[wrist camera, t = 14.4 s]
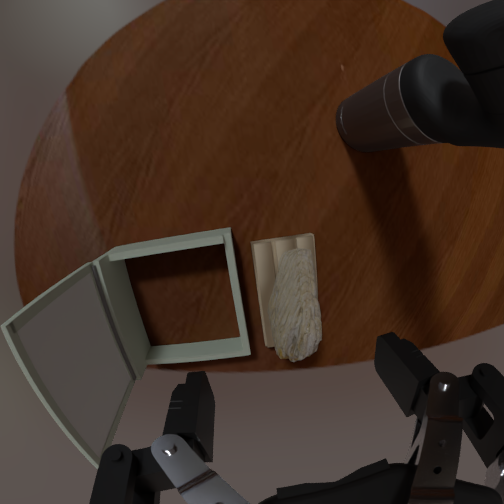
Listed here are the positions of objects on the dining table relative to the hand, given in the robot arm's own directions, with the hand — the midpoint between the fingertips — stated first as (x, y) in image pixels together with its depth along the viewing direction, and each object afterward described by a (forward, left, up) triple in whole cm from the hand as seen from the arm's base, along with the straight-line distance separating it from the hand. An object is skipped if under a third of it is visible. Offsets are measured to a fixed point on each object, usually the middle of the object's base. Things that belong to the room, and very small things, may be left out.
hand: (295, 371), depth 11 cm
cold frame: (+12, +8, -29) cm, 32 cm away
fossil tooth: (-5, +9, -27) cm, 29 cm away
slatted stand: (-4, +9, -29) cm, 31 cm away
